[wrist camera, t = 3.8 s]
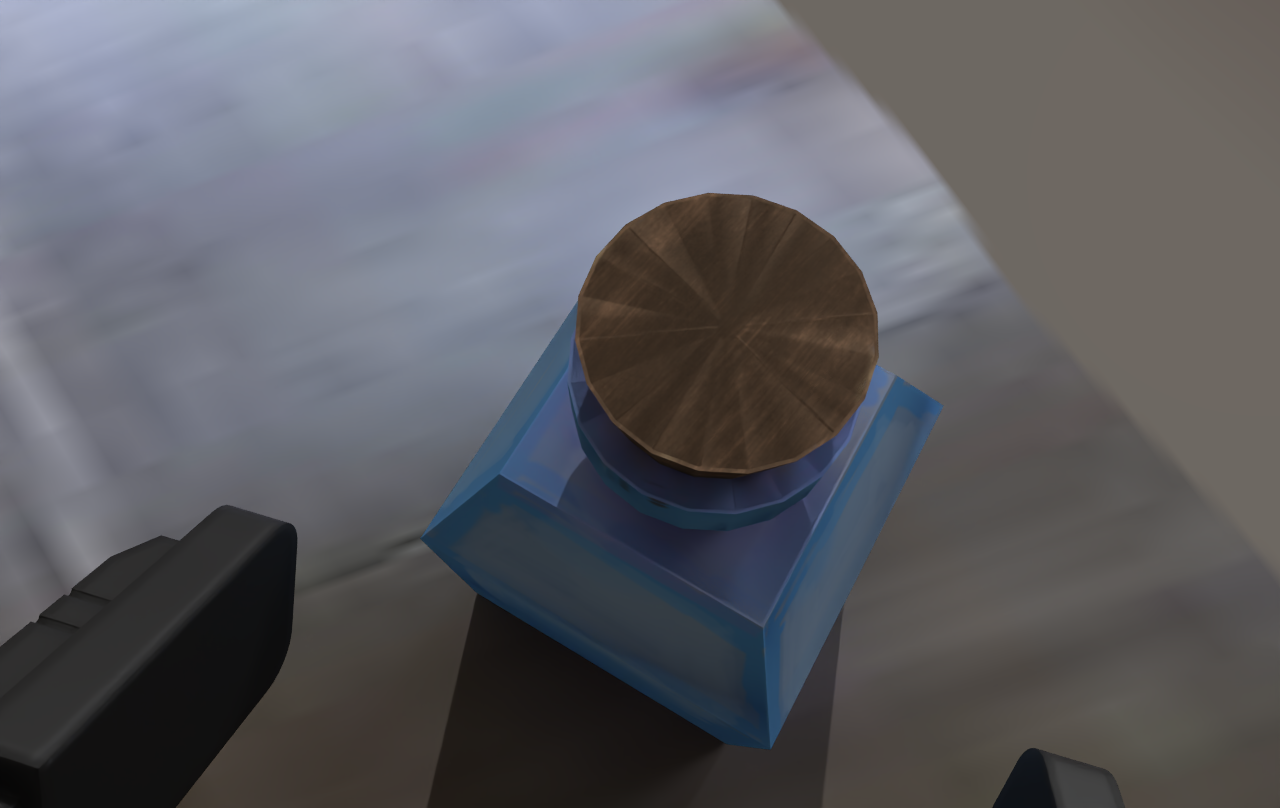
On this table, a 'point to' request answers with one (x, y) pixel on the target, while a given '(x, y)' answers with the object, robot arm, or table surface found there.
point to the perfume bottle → (695, 463)
